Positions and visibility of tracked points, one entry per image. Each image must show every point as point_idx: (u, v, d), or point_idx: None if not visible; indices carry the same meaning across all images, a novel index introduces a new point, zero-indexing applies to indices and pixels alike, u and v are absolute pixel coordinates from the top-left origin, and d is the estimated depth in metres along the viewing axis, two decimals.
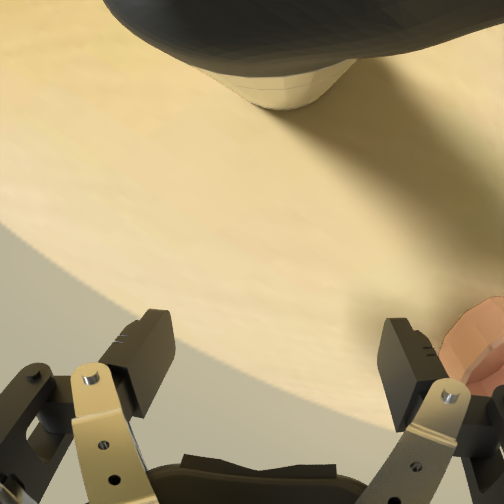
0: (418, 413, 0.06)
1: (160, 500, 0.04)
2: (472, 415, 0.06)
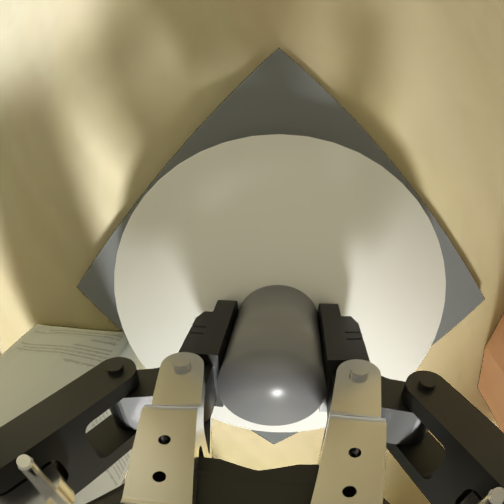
0: (333, 400, 0.07)
1: None
2: (384, 398, 0.07)
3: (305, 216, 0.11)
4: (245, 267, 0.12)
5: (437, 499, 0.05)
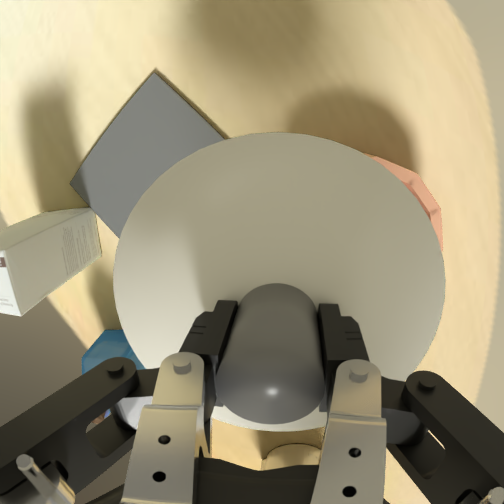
0: (333, 400, 0.07)
1: None
2: (384, 398, 0.07)
3: (304, 214, 0.11)
4: (244, 265, 0.12)
5: (437, 499, 0.05)
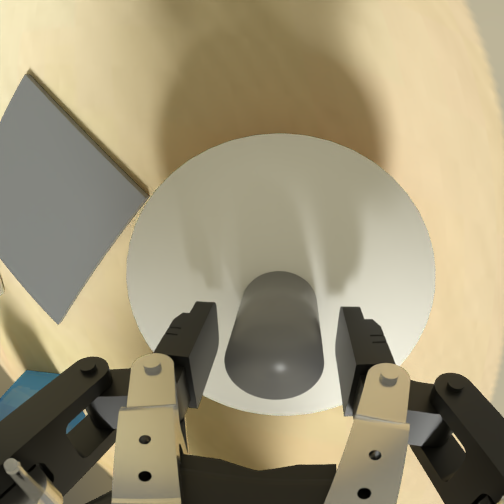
0: (361, 402, 0.07)
1: None
2: (413, 401, 0.07)
3: (304, 207, 0.12)
4: (249, 254, 0.13)
5: (453, 503, 0.05)
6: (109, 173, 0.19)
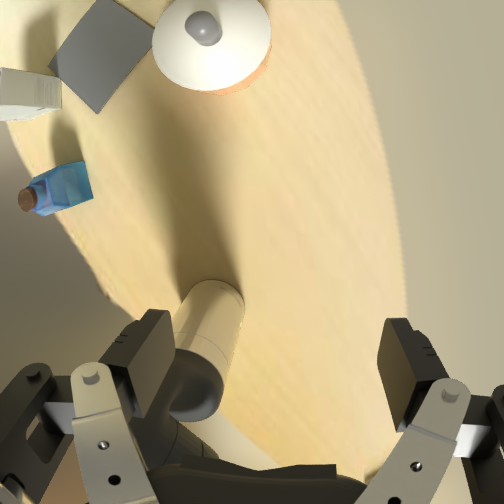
0: (418, 413, 0.06)
1: (160, 500, 0.04)
2: (472, 415, 0.06)
3: (216, 3, 0.29)
4: None
5: None
6: (144, 27, 0.36)
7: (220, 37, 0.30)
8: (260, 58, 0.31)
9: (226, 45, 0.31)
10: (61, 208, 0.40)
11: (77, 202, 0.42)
